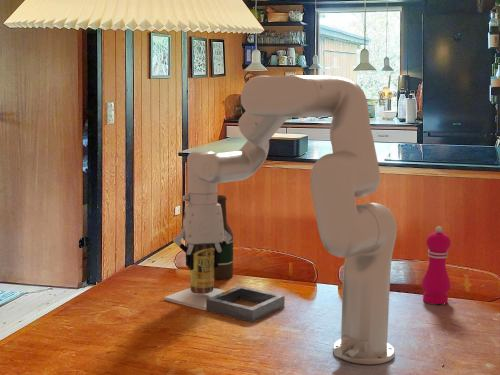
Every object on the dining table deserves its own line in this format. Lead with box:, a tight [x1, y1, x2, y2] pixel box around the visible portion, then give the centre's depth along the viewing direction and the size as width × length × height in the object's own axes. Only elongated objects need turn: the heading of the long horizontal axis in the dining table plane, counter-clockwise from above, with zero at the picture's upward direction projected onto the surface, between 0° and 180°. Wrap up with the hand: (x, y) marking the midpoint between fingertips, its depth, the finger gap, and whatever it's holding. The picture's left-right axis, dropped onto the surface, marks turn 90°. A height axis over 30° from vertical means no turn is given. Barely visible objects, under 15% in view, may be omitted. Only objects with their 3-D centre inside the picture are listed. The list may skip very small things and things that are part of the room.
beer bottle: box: [214, 194, 234, 281], centre depth 190 cm, size 8×8×24 cm
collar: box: [205, 285, 286, 323], centre depth 163 cm, size 14×14×3 cm
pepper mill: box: [421, 225, 451, 305], centre depth 170 cm, size 7×7×20 cm
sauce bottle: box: [189, 243, 215, 294], centre depth 170 cm, size 6×6×20 cm
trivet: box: [163, 287, 226, 311], centre depth 172 cm, size 14×14×1 cm
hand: (202, 266), depth 170 cm, fingers closed on sauce bottle, 6 cm apart
